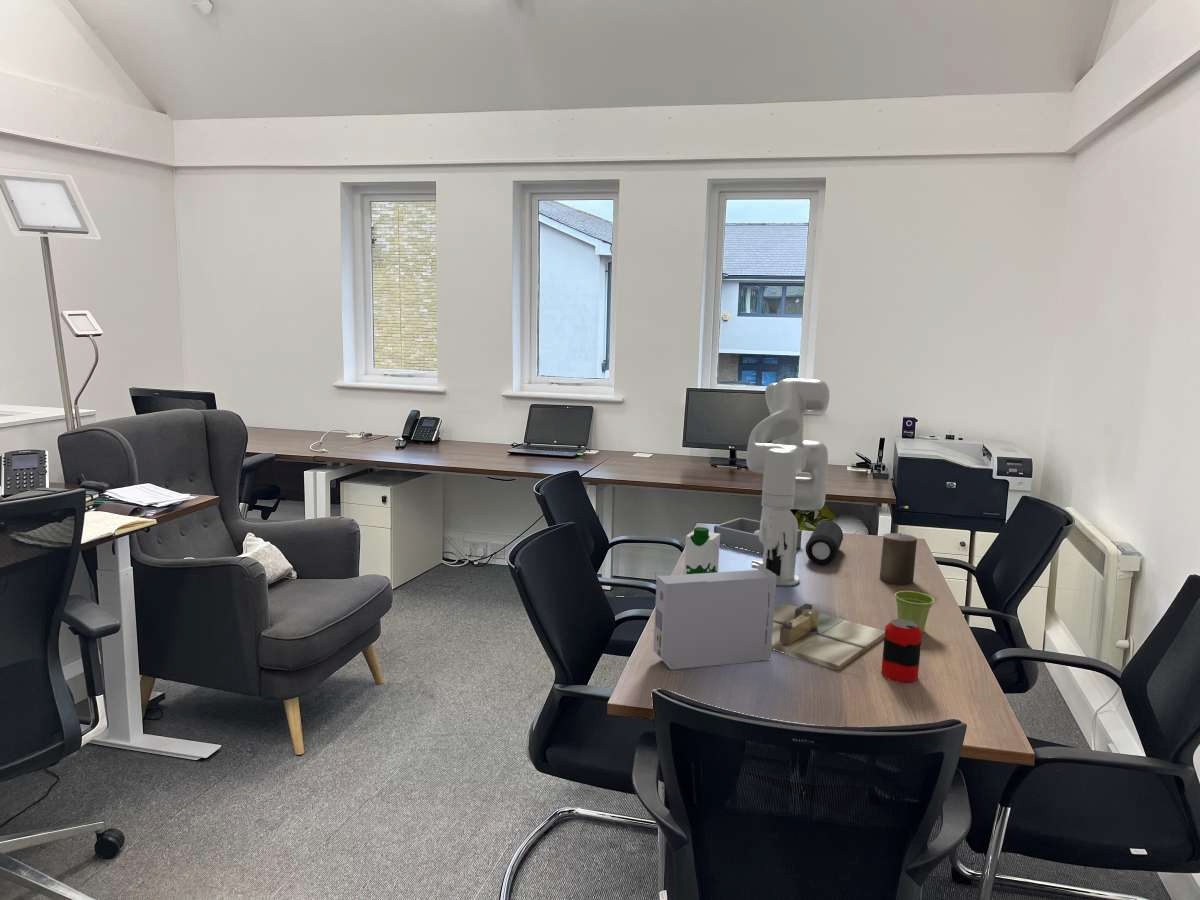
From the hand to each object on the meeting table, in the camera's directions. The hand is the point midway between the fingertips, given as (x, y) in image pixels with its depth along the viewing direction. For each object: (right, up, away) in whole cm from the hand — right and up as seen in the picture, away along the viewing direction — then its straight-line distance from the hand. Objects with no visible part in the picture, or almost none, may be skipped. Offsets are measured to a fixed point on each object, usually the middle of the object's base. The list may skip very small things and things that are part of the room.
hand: (772, 574), depth 197 cm
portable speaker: (+33, -6, +74) cm, 81 cm away
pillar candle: (+48, -10, +51) cm, 70 cm away
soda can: (+24, -20, -17) cm, 36 cm away
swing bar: (+6, -14, -1) cm, 16 cm away
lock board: (+10, -16, +4) cm, 19 cm away
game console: (-16, -18, -13) cm, 27 cm away
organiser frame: (+13, -3, +85) cm, 86 cm away
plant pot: (+37, -16, +10) cm, 42 cm away
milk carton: (-14, -11, +30) cm, 35 cm away
